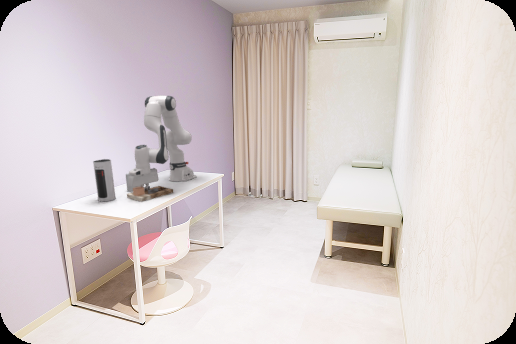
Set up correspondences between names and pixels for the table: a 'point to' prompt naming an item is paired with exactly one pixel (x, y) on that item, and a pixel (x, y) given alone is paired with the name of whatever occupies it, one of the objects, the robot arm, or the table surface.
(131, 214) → the table surface
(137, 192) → the terracotta block
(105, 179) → the speaker
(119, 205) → the table surface
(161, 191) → the wooden tray
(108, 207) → the table surface
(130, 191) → the supplement box
